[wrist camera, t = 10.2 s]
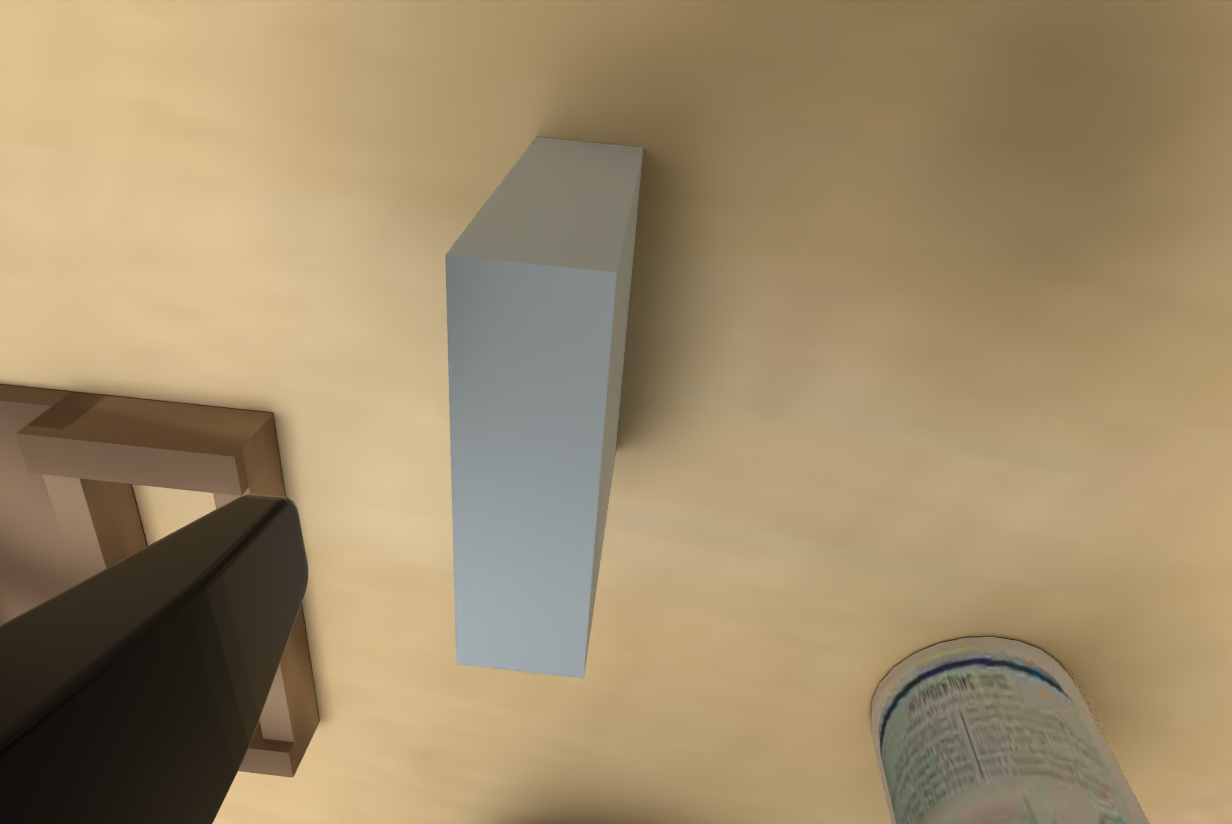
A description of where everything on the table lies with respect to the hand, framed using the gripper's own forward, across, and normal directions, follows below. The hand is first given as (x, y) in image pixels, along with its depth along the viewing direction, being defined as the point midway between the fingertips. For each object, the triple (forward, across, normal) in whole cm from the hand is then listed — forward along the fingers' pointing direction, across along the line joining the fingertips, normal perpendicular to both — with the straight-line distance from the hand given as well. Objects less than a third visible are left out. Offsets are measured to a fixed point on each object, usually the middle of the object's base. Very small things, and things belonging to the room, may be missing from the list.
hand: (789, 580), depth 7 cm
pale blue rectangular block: (+13, +3, +3) cm, 14 cm away
